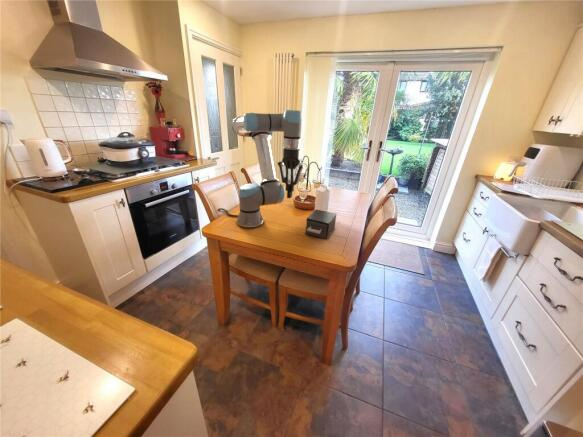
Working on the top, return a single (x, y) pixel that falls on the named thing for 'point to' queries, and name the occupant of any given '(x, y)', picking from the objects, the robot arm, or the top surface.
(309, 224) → the grey drawer
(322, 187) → the milk
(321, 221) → the small drawer unit
